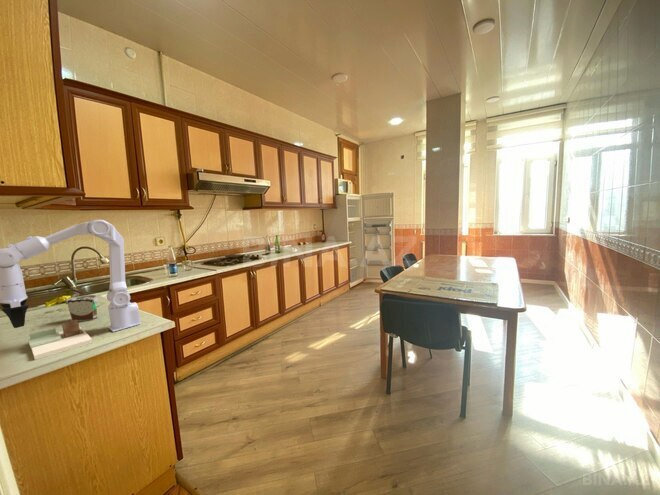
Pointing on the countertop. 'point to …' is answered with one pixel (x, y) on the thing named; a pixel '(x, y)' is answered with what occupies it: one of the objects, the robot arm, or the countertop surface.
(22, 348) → the countertop surface
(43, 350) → the puzzle board
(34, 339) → the lid
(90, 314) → the food container
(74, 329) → the walnut block
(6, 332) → the countertop surface
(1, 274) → the robot arm
